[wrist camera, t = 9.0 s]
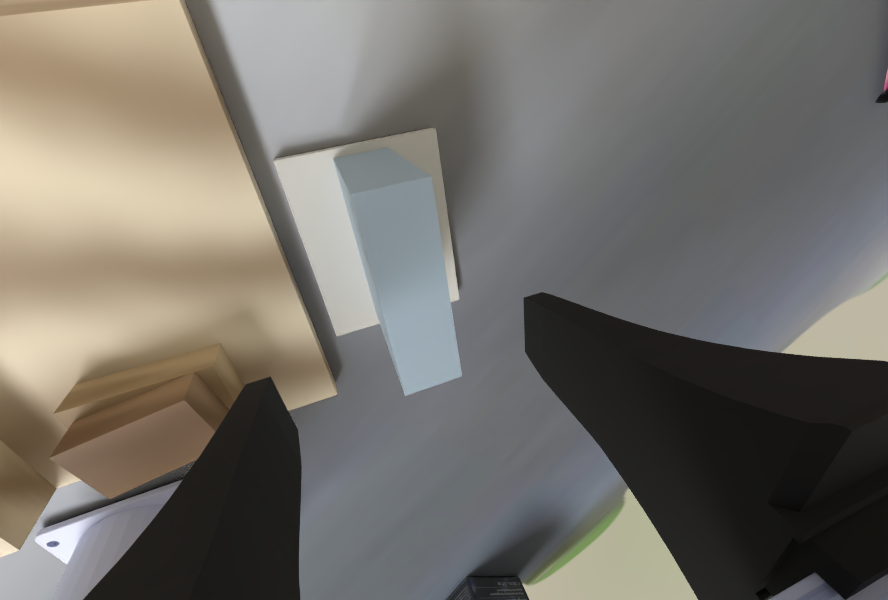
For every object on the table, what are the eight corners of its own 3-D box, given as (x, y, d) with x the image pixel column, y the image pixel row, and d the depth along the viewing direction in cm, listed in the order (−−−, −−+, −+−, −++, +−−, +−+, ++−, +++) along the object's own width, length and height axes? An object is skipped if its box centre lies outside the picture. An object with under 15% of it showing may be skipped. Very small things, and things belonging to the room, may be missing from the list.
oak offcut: (251, 397, 20) (247, 422, 18) (122, 438, 18) (107, 469, 17) (220, 342, 18) (213, 366, 16) (75, 384, 17) (52, 414, 15)
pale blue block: (419, 301, 21) (461, 376, 15) (376, 313, 20) (404, 396, 15) (387, 147, 16) (431, 176, 11) (332, 158, 16) (350, 194, 11)
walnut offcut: (234, 415, 18) (229, 445, 16) (126, 463, 17) (109, 499, 16) (194, 371, 16) (184, 400, 15) (72, 422, 15) (48, 458, 14)
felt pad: (455, 294, 22) (459, 299, 21) (335, 330, 21) (336, 336, 20) (432, 127, 17) (436, 128, 17) (274, 158, 16) (273, 161, 15)
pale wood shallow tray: (335, 383, 22) (344, 450, 18) (39, 480, 19) (-32, 588, 15) (167, -44, 12) (100, -111, 8) (-510, 15, 9) (-1181, -46, 5)
